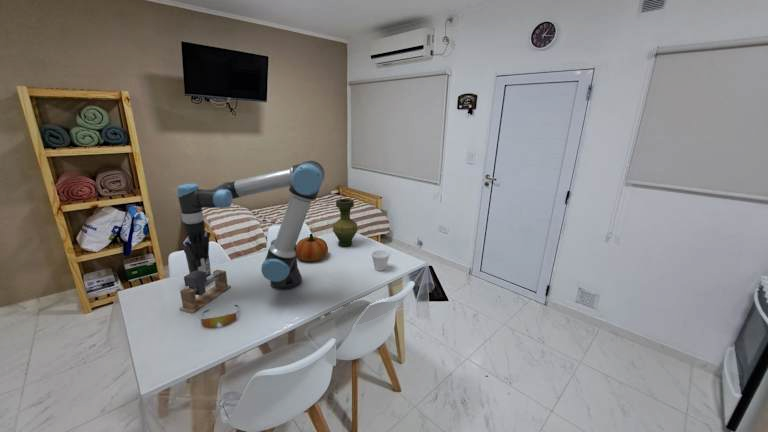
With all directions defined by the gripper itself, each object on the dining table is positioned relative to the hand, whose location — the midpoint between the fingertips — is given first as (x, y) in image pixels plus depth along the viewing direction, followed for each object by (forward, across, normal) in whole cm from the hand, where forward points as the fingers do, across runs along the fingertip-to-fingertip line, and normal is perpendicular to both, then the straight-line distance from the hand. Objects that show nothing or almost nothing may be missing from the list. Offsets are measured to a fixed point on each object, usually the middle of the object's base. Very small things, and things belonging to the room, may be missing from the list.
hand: (202, 271), depth 137 cm
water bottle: (+14, -11, -13) cm, 22 cm away
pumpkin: (+14, -55, +24) cm, 61 cm away
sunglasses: (+14, +9, +15) cm, 23 cm away
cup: (+15, -53, +67) cm, 86 cm away
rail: (+14, 0, 0) cm, 14 cm away
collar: (+8, +4, 0) cm, 9 cm away
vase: (+14, -79, +36) cm, 88 cm away
